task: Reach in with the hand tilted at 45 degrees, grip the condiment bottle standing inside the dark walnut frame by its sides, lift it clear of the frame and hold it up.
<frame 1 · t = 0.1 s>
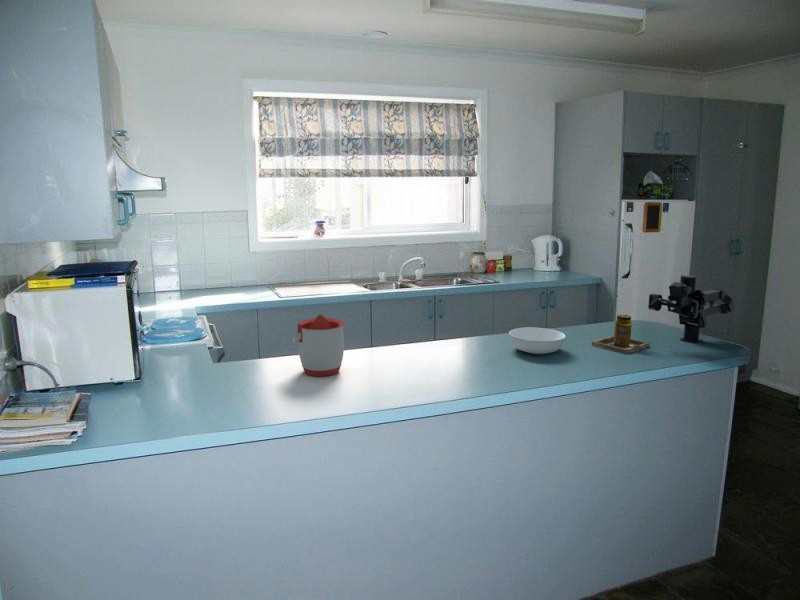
hand: (661, 308, 228), 17 cm above the worktop, fingers open, 9 cm apart
walnut frame: (620, 345, 239), on the worktop
condiment: (620, 346, 239), resting in walnut frame
serving bowl: (536, 351, 232), on the worktop
citrus juicer: (319, 372, 207), on the worktop
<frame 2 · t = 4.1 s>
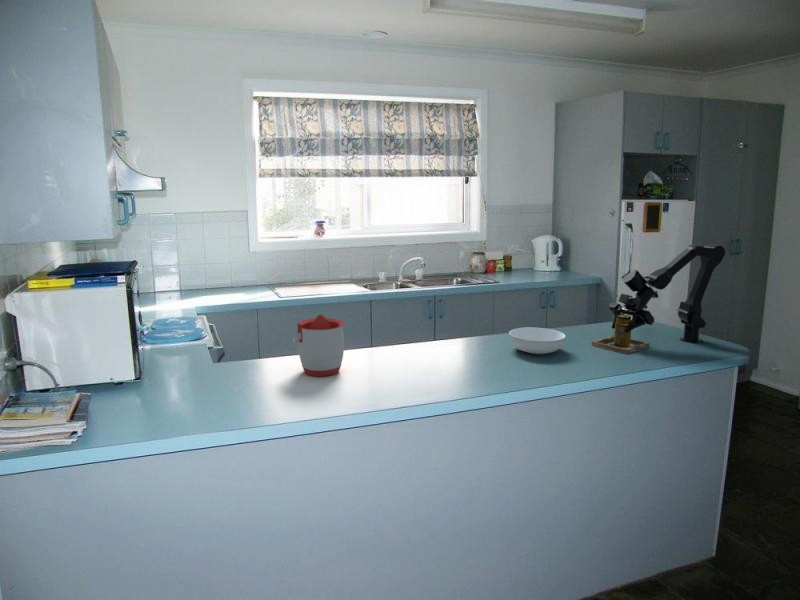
hand: (618, 330, 237), 7 cm above the worktop, fingers closed on condiment, 6 cm apart
condiment: (620, 346, 239), resting in walnut frame, touching gripper
everything else where it was.
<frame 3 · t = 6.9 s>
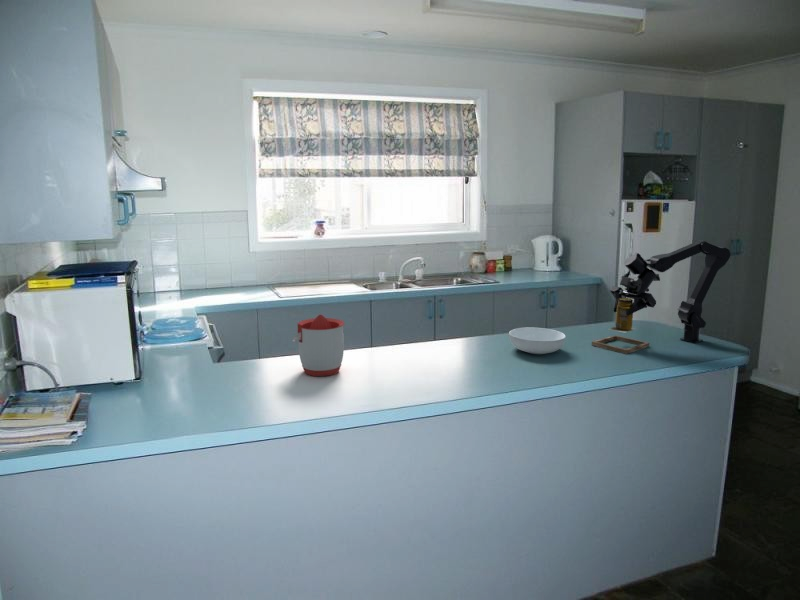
hand: (620, 313, 235), 13 cm above the worktop, fingers closed on condiment, 6 cm apart
condiment: (622, 330, 237), point 6 cm above the worktop, touching gripper
everything else where it was.
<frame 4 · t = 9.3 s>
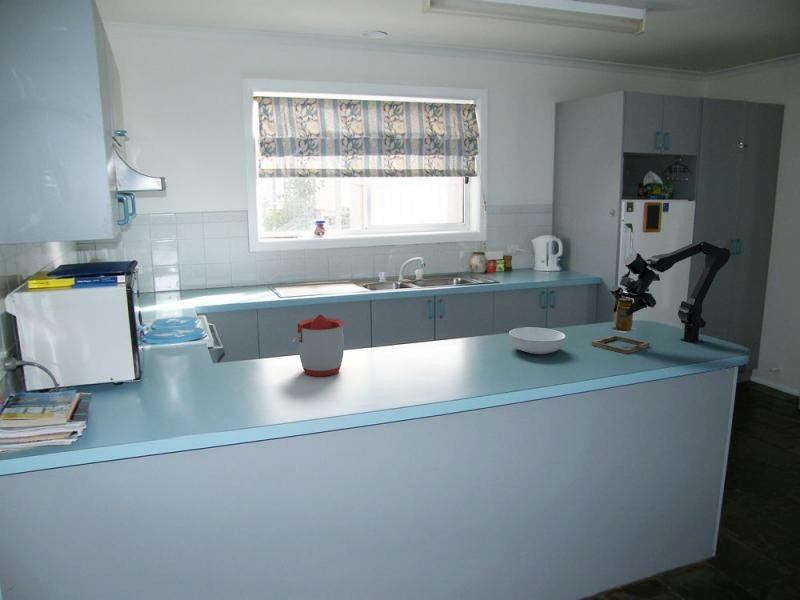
hand: (620, 313, 235), 13 cm above the worktop, fingers closed on condiment, 6 cm apart
condiment: (622, 330, 237), point 6 cm above the worktop, touching gripper
everything else where it was.
at the end: the gripper is holding condiment; condiment point 6.4 cm above the worktop; condiment tilted 0° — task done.
